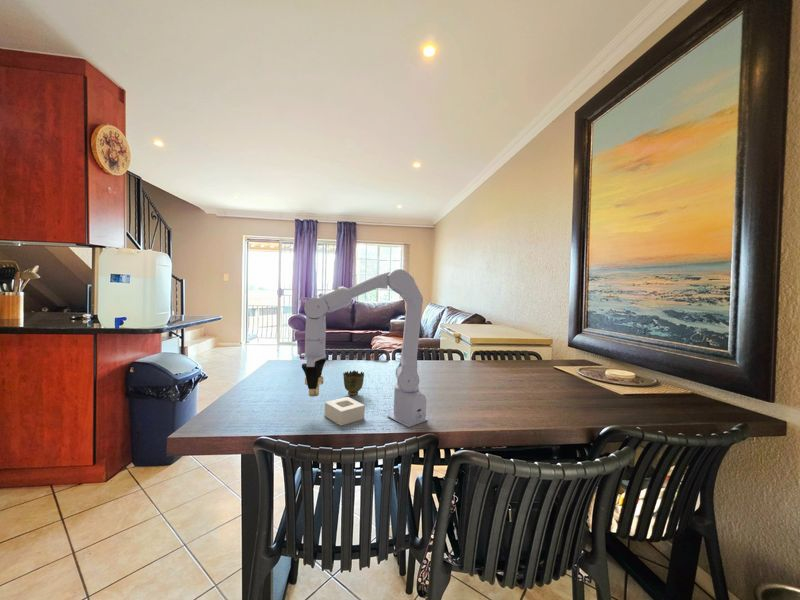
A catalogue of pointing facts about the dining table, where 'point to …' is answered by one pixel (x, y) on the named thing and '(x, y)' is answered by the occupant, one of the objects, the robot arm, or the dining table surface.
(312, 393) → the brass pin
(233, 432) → the dining table surface
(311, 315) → the robot arm
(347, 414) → the block
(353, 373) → the cup
